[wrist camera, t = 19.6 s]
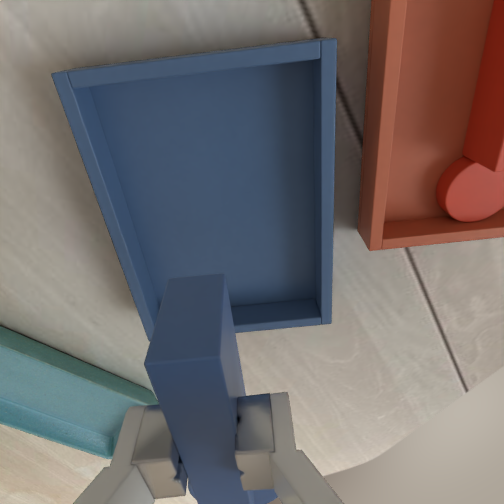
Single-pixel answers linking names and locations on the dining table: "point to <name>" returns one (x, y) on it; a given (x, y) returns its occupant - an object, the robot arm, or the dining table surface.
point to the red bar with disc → (481, 139)
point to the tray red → (419, 119)
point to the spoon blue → (201, 386)
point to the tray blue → (217, 174)
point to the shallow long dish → (63, 396)
